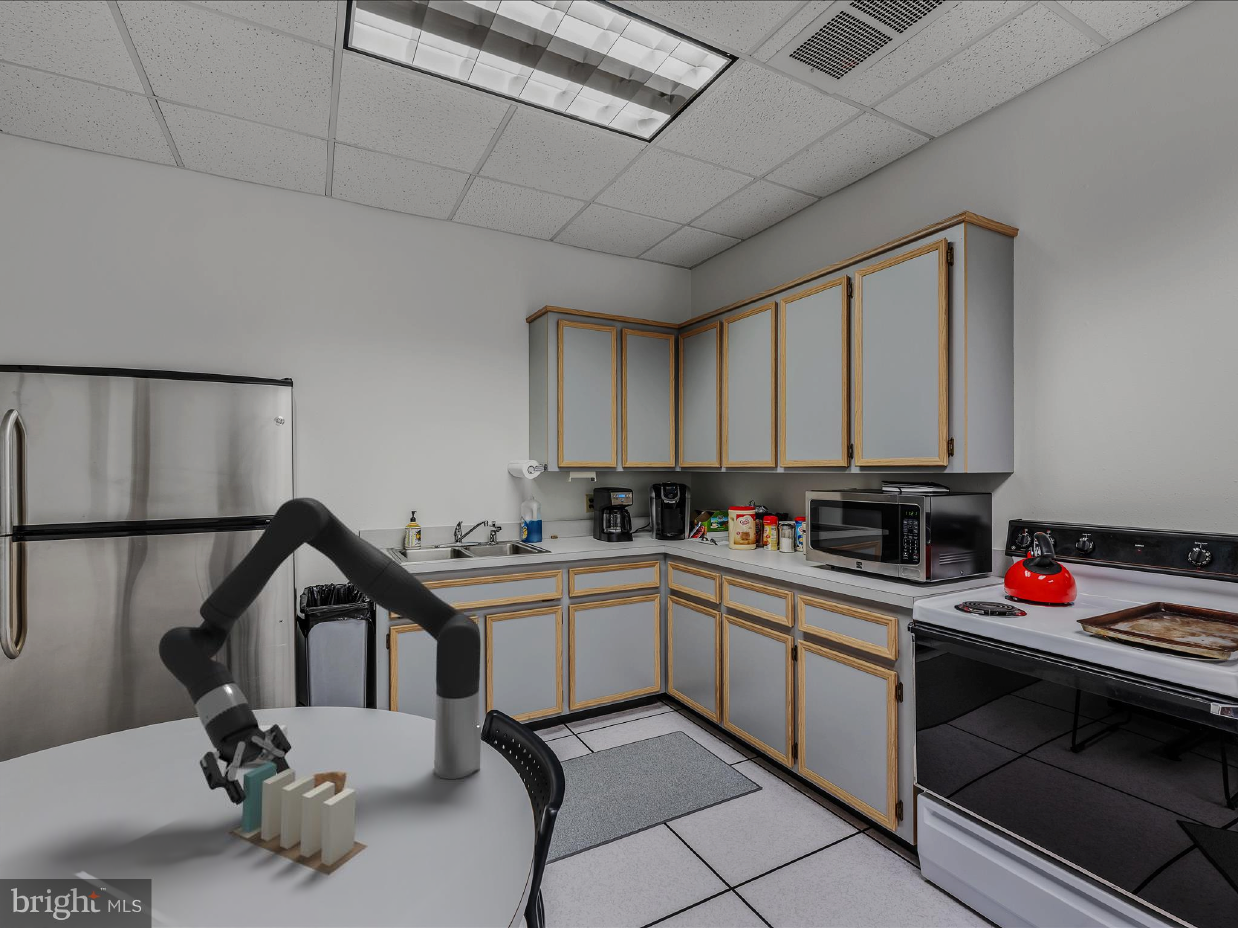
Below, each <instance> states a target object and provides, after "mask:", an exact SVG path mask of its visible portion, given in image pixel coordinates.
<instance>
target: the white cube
mask: <svg viewBox="0 0 1238 928" xmlns="http://www.w3.org/2000/svg"><path fill="white" fill-rule="evenodd" d="M273 725H274V724H272V725H260V726H259V728H260V729H261V730H262V731H263V732H264V731H266V730H268V729H270V728H271V727H272V726H273ZM277 725H278V726H279V727H280V729H281V731H282V732H283V734H284V735H285V737H286V738H287V739H288V725H282V724H281V725H279V724H277ZM265 741H266V742H268V743H270V744H272V743H271V741H267V738H265ZM265 751H266V750H264V749H263V751H262V752H265ZM267 763H269V761H266V760H264V761H262V760H260V759H256V760H255V761H253V762H249V763H246V764H245V765H247V764H249V765H250V764H251V765H254V764H255V765H256V764H257V765H258V764H259V765H260V764H261V765H265V764H267Z"/></svg>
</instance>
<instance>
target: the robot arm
mask: <svg viewBox="0 0 1238 928" xmlns="http://www.w3.org/2000/svg"><path fill="white" fill-rule="evenodd" d="M304 544H306V545H308V546H311V547H312V548H313V549H315V550H317V551H318V552H319V553H321V554H322V555H324V556H325V557H326V558H328V559H329V560H330V561H331V562H333V564H334V565H335V566H336V567H337V568H338V570H340V573H342V574H343V576H344V577H345V578H346V579H347V581H349V583H350V584H351V585H352V586H354V588H355V589H356V590H358V591H359V592H360V593H362V594H363V595H364V596H365V597H367V598H368V599H369V600H370V601H372V602H373V603H374V604H376V605H378V606H379V607H381V608H383V609H384V610H385V611H388V612H390V613H392V614H394V615H397V616H399V617H402V618H404V619H407V620H409V621H411V622H413V623H415V624H416V625H417V626H419V627H420V628H421V629H423V630H424V631H425V632H426V633H427V634H429V635H430V636H431V637H432V638H433V639H434V640H435V641H436V655H435V656H436V659H435V660H436V661H435V663H436V665H435V671H436V672H435V683H436V684H435V686H436V688H435V689H436V690H435V722H434V723H435V724H434V725H435V727H434V728H435V731H434V733H435V734H434V762H433V765H434V768H433V771H434V774H435V775H436V776H437V777H439V778H442V779H447V780H455V779H461V778H465V777H467V776H469V775H471V774H473V773H474V772H476V771H479V770H480V769H481V745H482V744H481V743H482V725H480V723H479V707H480V706H479V700H480V677H481V675H480V674H481V670H480V669H481V649H482V648H481V647H482V646H481V645H482V643H481V632H480V627H479V625H478V624H477V622H476V621H475V620H474V619H472V618H471V617H470V616H468V615H466V614H465V613H464V612H461V611H460V610H458V609H456V607H453V606H451V605H450V604H448V602H445V601H444V600H442V599H441V598H439V597H438V596H437V595H435V593H433V592H432V591H431V590H430V589H429V588H428V587H427V586H426V585H424V583H422V581H420V580H419V579H418V578H416V576H414V575H413V574H412V573H411V572H409V571H408V570H407V569H406V568H404V567H403V566H402V565H400V563H398V562H397V561H396V560H394V559H393V558H392V557H390V556H389V555H387V554H386V553H384V552H383V551H382V550H380V549H379V548H377V547H376V546H374V545H373V544H372V543H370V542H368V541H366V540H365V539H364V538H362V537H360V536H358V535H357V534H356V533H355V532H353V531H352V529H350V528H348V527H347V525H345V523H344V522H342V521H341V520H340V519H339V518H338V517H337V516H336V515H335V514H334V513H333V512H332V511H331V510H329V508H328V507H327V506H325V504H323V502H322V501H321V502H320V501H319V500H317V499H315V498H312V497H297V498H292V499H289V500H287V501H285V502H284V503H283V504H281V505H280V506H279V507H278V509H277V510H276V512H275V513H274V515H273V517H272V519H271V520H270V522H269V524H268V525H267V526H266V528H265V530H264V531H263V533H261V536H260V537H259V538H258V540H257V541H256V543H255V544H254V546H253V547H252V548H251V549H250V550H249V552H248V553H247V555H245V556H244V558H243V559H241V561H240V562H239V563H238V564H237V565H236V566H235V568H233V570H232V571H231V572H230V573H229V574H228V575H227V576H226V577H225V578H224V579H223V580H222V581H221V583H220V584H219V585H218V586H217V587H216V588H215V590H213V591H212V593H210V595H209V596H208V597H207V598H206V599H205V600H204V602H203V603H202V605H201V606H200V609H199V614H200V617H202V619H203V621H202V623H201V624H200V625H199V626H197V627H196V626H177V627H174V628H171V629H169V630H168V631H165V633H164V634H163V636H162V637H161V639H160V640H159V643H158V654H159V658H160V660H161V662H162V663H163V665H164V666H165V667H166V669H167V670H168V671H169V672H170V673H171V674H172V675H173V676H174V677H175V679H176V680H177V681H179V682H180V684H182V685H183V686H184V687H185V688H186V690H187V693H188V695H189V696H190V698H191V701H192V703H193V705H194V707H195V709H196V713H197V716H198V718H199V720H200V722H201V724H202V726H203V728H204V730H205V732H206V734H207V737H208V739H209V740H210V742H211V744H212V746H213V748H214V749H216V750H215V751H214V752H213V751H207V752H206V753H205V754H204V756H202V758H201V759H200V760H199V766H200V768H201V771H202V772H203V775H204V777H205V780H206V782H207V786H208V788H209V790H212V791H213V790H216V789H219V788H223V789H224V790H225V793H226V794H227V796H228V798H229V800H230V802H231V803H233V804H236V806H238V805H240V804H243V801H244V800H245V799H246V795H245V793H244V791H243V786H241V784H240V781H239V779H238V778H236V777H237V776H236V775H237V771H238V769H239V768H242V767H244V766H245V765H247V764H246V763H249V762H253V761H255V760H256V759H260V760H262V761H264V760H266V761H269V762H271V763H274V764H276V775H277V774H279V773H281V772H283V771H285V770H287V769H291V767H290V765H289V763H288V762H287V760H286V755H287V754H288V753H289V752H290V750H291V749H292V745H291V743H290V741H289V740H288V737H287V738H286V737H285V735H284V734H283V732H282V731H281V729H280V727H279V726H278V725H279V724H276V723H275V724H272V725H273V726H272V727H271V728H270V729H268V730H266V731H264V732H263V731H262V730H261V729H260V728H259V727H260V726H259V721H258V719H257V718H256V715H255V713H254V712H253V710H252V708H251V706H250V705H249V703H248V700H247V699H246V697H245V695H244V693H243V692H242V690H241V689H240V688H239V687H238V685H237V684H236V682H235V680H234V678H233V676H232V674H231V672H230V671H229V669H228V667H227V666H226V665H225V664H224V663H223V662H220V661H217V660H213V659H212V658H214V657H215V656H216V655H217V654H218V653H219V652H220V651H221V649H222V648H223V646H224V644H225V643H226V641H227V639H228V638H229V635H230V634H231V633H232V630H233V628H234V626H235V624H236V621H238V620H239V619H240V617H242V616H243V614H244V613H245V611H247V609H248V608H250V606H251V605H252V604H253V603H254V601H255V600H256V599H257V598H258V596H259V595H260V593H262V591H263V590H264V589H265V587H266V585H267V584H268V583H269V582H270V581H269V580H270V579H271V578H272V577H273V575H274V574H275V572H276V571H277V569H278V568H279V567H280V566H281V565H282V564H283V563H284V561H286V560H287V559H288V558H289V557H290V556H291V555H292V554H294V552H296V551H297V550H298V549H299V548H300V547H301V546H302V545H304ZM265 738H267V741H271V743H272V744H270V743H268V742H266V741H265ZM263 749H264V750H266V751H265V752H262V751H263ZM219 760H220V761H222V762H225V763H226V764H225V767H224V770H223V774H222V771H221V768H220V766H219V764H218V762H219Z"/></svg>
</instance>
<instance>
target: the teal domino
mask: <svg viewBox="0 0 1238 928" xmlns="http://www.w3.org/2000/svg"><path fill="white" fill-rule="evenodd" d="M275 775H277V773H276V764H274V763H271V762H269V763H267V764H262V765H261V766H258V767H257V768H254V769H253V770H251V771H248V772H247V773H243V781H242V782H243V784H242V785H243V786H242V789H243V791H244V793H245V795H246V799H245V800H244V801H243V802H242V817H241V818H242V819H241V820H242V822H241V826H242V830H243V831H245V832H248V833H249V832H251V831H253V830H255V829H256V828H258V827H260V826H261V823H262V788H263V781H265V780H267V779H269V778H271V777H273V776H275Z"/></svg>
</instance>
